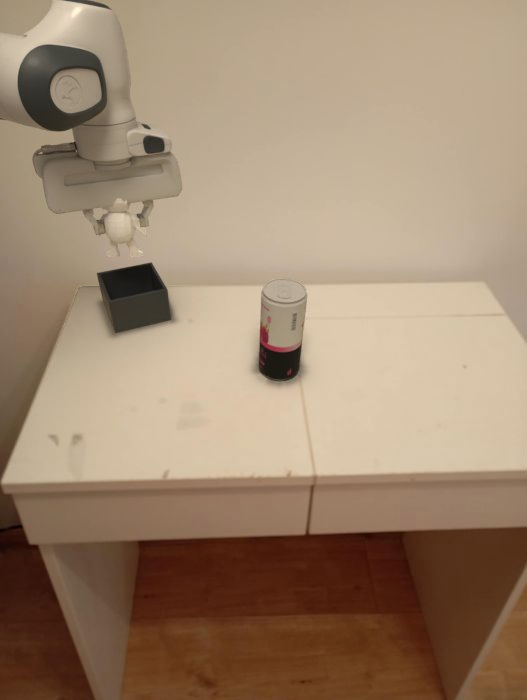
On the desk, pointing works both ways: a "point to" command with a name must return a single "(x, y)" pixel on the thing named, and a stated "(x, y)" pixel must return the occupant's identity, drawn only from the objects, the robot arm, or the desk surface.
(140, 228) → the figurine
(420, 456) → the desk surface
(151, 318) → the dark grey hollow box
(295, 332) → the beverage can
